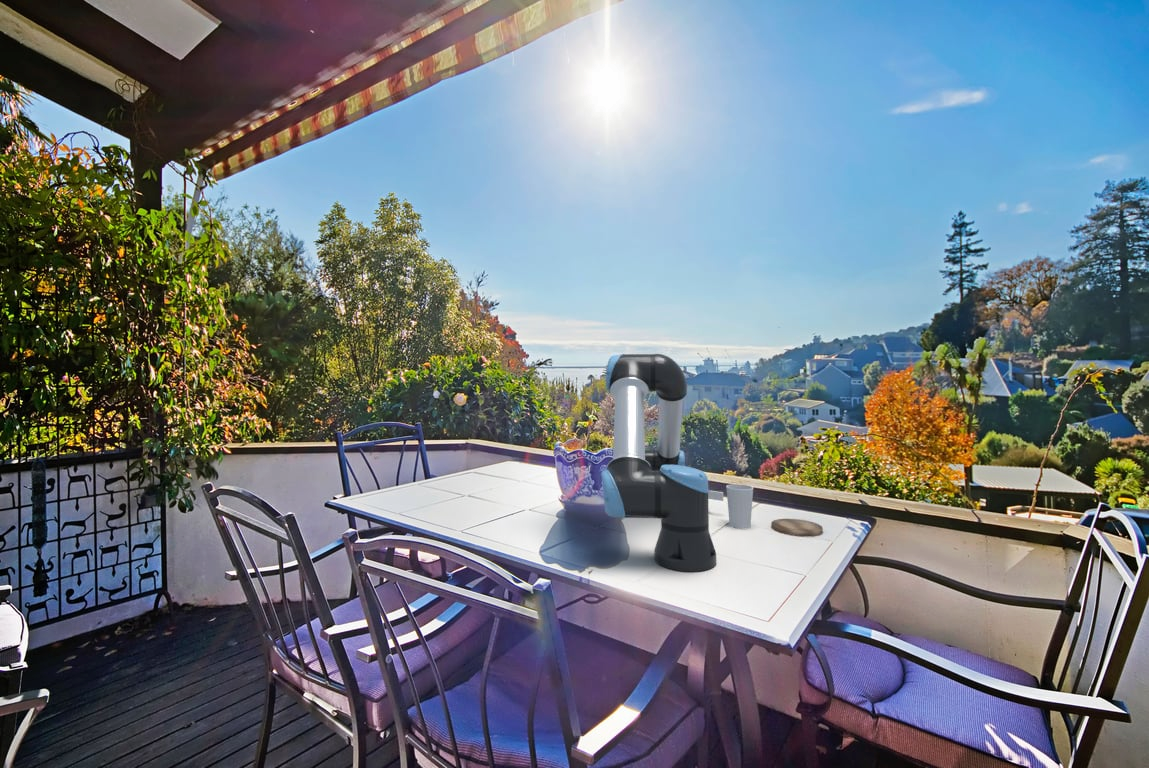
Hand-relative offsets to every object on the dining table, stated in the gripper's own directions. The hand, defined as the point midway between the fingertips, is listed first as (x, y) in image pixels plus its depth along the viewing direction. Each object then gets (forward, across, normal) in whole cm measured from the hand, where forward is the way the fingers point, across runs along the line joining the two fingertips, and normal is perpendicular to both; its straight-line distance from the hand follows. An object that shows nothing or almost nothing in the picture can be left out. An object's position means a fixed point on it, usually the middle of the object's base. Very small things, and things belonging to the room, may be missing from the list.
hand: (714, 500), depth 156 cm
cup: (+8, 0, -7) cm, 11 cm away
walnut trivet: (+23, -6, -6) cm, 25 cm away
